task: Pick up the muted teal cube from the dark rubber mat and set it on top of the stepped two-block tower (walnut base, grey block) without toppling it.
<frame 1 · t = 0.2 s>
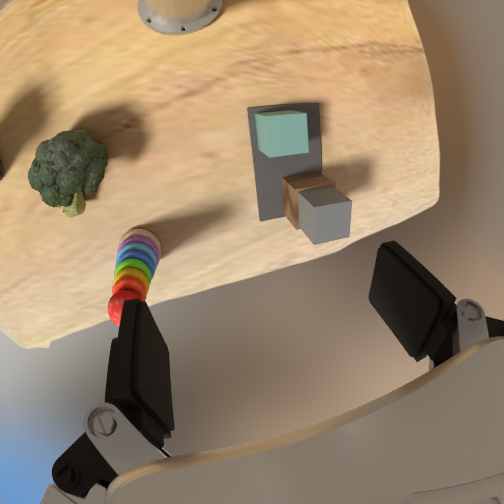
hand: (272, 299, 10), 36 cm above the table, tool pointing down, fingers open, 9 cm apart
mat: (288, 162, 45), on the table
stacking toy: (140, 246, 47), on the table
tower mid: (315, 206, 43), point 6 cm above the table, touching tower base
vegetable: (80, 166, 37), on the table
tower base: (301, 193, 48), resting on mat, touching tower mid
teal cube: (275, 129, 41), resting on mat
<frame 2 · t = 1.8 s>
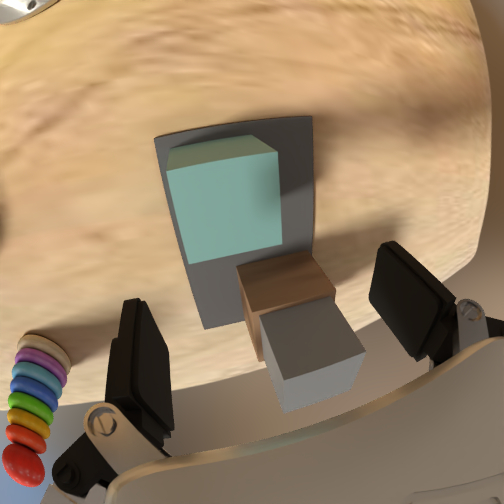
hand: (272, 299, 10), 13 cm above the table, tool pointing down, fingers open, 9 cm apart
mat: (248, 237, 24), on the table
stacking toy: (45, 350, 26), on the table
tower mid: (295, 329, 23), point 6 cm above the table, touching tower base
tower base: (274, 286, 28), resting on mat, touching tower mid
teal cube: (216, 178, 20), resting on mat
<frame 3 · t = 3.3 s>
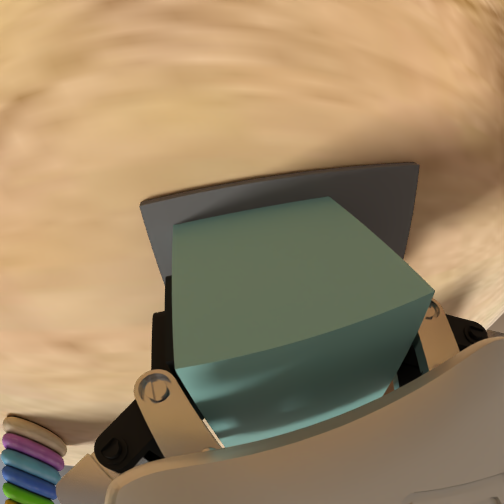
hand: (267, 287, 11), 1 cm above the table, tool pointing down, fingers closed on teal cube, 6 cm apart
mat: (299, 341, 16), on the table
stacking toy: (35, 429, 17), on the table
teal cube: (261, 274, 12), resting on mat, touching gripper
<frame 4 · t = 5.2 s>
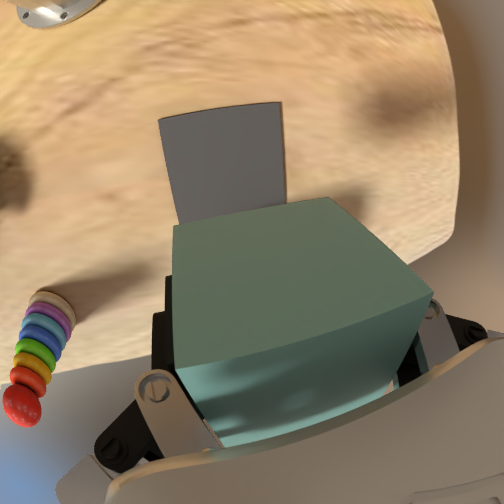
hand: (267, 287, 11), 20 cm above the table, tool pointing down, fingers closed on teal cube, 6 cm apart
mat: (230, 199, 30), on the table
stacking toy: (53, 308, 31), on the table
teal cube: (261, 274, 12), point 19 cm above the table, touching gripper
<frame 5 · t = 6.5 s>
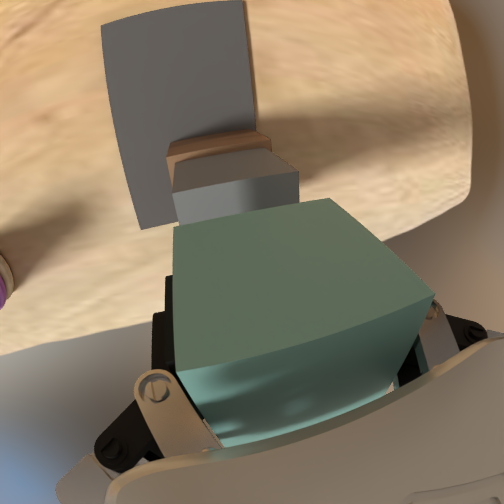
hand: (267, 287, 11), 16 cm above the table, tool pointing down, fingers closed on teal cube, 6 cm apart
mat: (182, 111, 21), on the table
tower mid: (225, 195, 19), point 6 cm above the table, touching tower base
tower base: (215, 172, 24), resting on mat, touching tower mid
teal cube: (261, 275, 12), point 15 cm above the table, touching gripper
when the fingers open (14 cm above the table, at t = 7.3 s): teal cube stays where it is, resting on tower mid.
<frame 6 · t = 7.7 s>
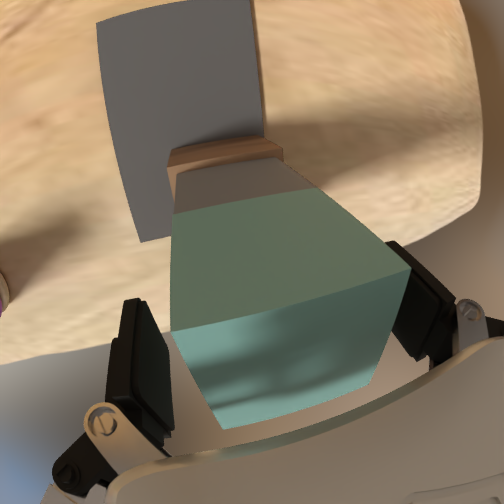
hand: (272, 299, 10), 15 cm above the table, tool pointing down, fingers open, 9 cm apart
mat: (184, 115, 19), on the table
tower mid: (232, 209, 17), point 6 cm above the table, touching teal cube, tower base
tower base: (220, 181, 22), resting on mat, touching tower mid
teal cube: (255, 261, 12), point 12 cm above the table, touching tower mid
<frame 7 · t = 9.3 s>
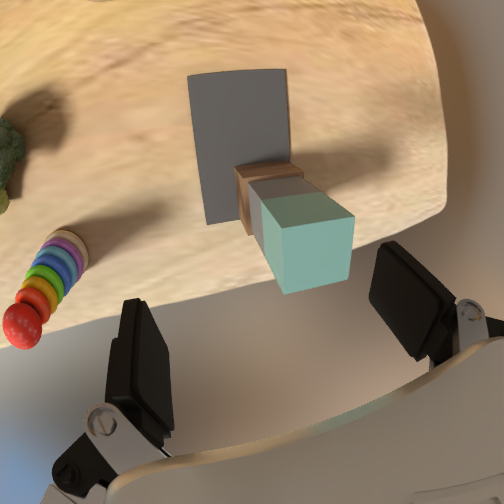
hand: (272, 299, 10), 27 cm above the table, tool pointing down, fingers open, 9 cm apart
mat: (243, 146, 33), on the table
stacking toy: (67, 251, 35), on the table
tower mid: (275, 203, 31), point 6 cm above the table, touching teal cube, tower base
vegetable: (6, 160, 25), on the table
tower base: (262, 188, 37), resting on mat, touching tower mid
teal cube: (293, 224, 26), point 12 cm above the table, touching tower mid
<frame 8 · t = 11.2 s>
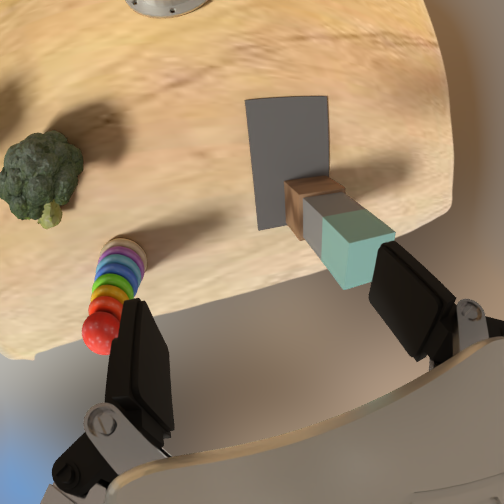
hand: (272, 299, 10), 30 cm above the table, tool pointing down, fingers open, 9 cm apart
mat: (291, 163, 39), on the table
stacking toy: (124, 257, 41), on the table
tower mid: (322, 214, 37), point 6 cm above the table, touching teal cube, tower base
vegetable: (56, 172, 31), on the table
tower base: (305, 198, 42), resting on mat, touching tower mid
teal cube: (343, 234, 33), point 12 cm above the table, touching tower mid
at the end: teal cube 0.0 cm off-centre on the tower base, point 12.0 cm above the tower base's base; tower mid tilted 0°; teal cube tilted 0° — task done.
